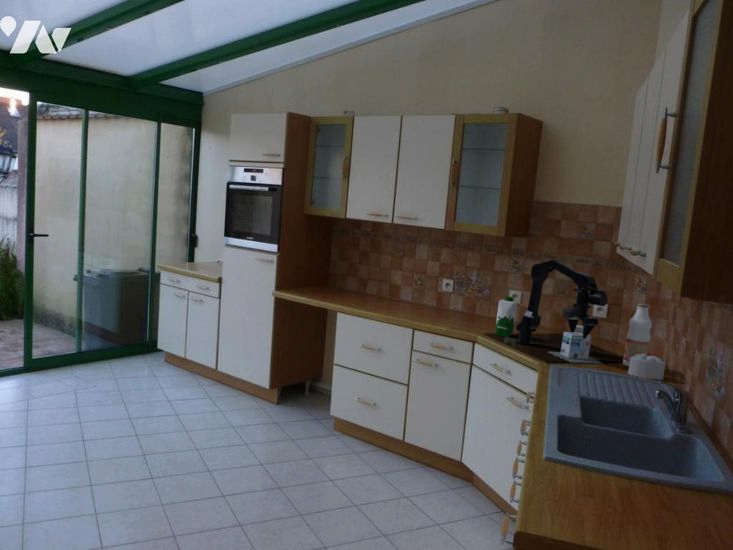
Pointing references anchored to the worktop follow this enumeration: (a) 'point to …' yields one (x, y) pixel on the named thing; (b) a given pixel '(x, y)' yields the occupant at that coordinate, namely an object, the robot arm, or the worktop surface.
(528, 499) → the worktop surface
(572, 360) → the mat
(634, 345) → the fruit juice
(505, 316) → the milk carton
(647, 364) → the lumpy-topped squat cylinder
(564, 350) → the light bulb box
